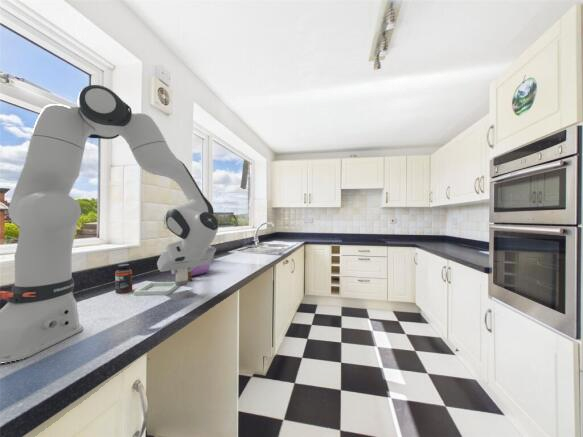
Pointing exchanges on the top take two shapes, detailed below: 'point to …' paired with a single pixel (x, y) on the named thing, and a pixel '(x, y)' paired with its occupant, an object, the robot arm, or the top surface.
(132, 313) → the top surface
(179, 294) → the holder
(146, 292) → the parts tray
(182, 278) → the salt shaker
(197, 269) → the teapot
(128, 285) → the supplement bottle
